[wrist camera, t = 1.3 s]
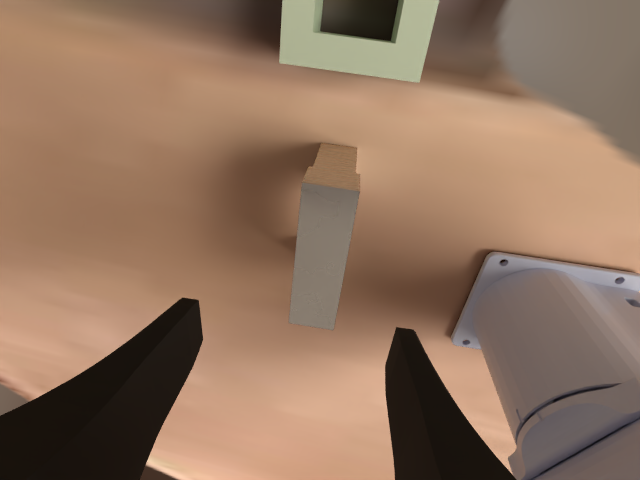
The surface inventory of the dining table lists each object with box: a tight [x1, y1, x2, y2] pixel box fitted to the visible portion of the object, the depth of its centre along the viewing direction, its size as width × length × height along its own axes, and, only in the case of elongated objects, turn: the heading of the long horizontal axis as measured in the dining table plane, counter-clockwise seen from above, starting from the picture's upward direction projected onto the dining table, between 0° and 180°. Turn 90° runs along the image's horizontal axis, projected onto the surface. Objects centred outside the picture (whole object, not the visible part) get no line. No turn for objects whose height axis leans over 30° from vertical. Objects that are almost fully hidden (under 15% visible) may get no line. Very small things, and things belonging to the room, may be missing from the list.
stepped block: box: [289, 143, 360, 330], centre depth 19 cm, size 2×8×6 cm, turn 173°
